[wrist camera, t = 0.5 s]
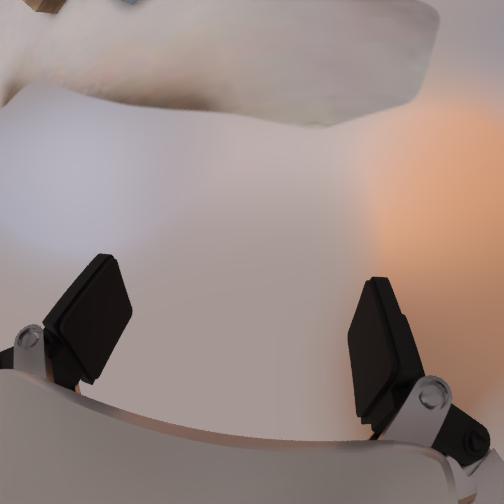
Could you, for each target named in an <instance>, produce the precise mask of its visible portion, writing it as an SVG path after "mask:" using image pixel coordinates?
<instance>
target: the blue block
mask: <svg viewBox="0 0 504 504" xmlns="http://www.w3.org/2000/svg"><path fill="white" fill-rule="evenodd" d="M123 1H125V2H128V3H131V4H133V5H134V4H135V3H136V2H137V1H138V0H123Z"/></svg>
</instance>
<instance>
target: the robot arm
mask: <svg viewBox="0 0 504 504" xmlns="http://www.w3.org/2000/svg"><path fill="white" fill-rule="evenodd" d="M131 316H132V306H131V303H130V300H129V298H128V295H127V291H126V288H125V285H124V282H123V279H122V275H121V272H120V269H119V266H118V262H117V260H116V259H114V257H113V256H112V255H110V254H98V255H97V256H96V257H95V258H94V259H93V260H92V261H91V263H90V264H89V265H88V266H87V267H86V268H85V269H84V271H83V272H82V273H81V274H80V275H79V276H78V277H77V279H76V280H75V281H74V282H73V283H72V285H71V286H70V287H69V288H68V289H67V291H66V292H65V293H64V294H63V296H62V297H61V298H60V299H59V301H58V302H57V303H56V305H55V306H54V307H53V308H52V310H51V311H50V312H49V314H48V315H47V316H46V318H45V319H44V320H43V322H42V323H43V324H44V326H45V328H44V329H42V328H41V327H40V326H38V325H34V324H32V325H28V326H26V327H24V328H23V329H22V330H20V332H19V333H18V334H17V336H16V338H15V342H14V346H13V347H11V348H9V349H6V350H4V351H1V352H0V504H504V462H503V460H502V459H501V457H500V456H499V455H498V453H497V452H496V450H495V449H494V448H493V449H492V450H490V448H489V447H490V436H489V433H488V431H487V429H486V428H485V427H484V426H483V425H482V424H480V423H479V422H477V421H476V420H474V419H473V418H472V417H470V416H469V415H467V414H466V413H465V412H463V411H462V410H460V409H459V408H457V407H456V406H454V405H453V404H452V403H451V402H452V392H451V389H450V387H449V385H448V384H447V383H446V382H445V381H444V380H443V379H441V378H439V377H437V376H433V375H429V376H425V373H424V370H423V366H422V363H421V360H420V356H419V353H418V350H417V347H416V344H415V341H414V338H413V335H412V332H411V329H410V326H409V324H408V321H407V318H406V316H405V315H404V314H402V313H401V310H400V308H399V305H398V302H397V300H396V297H395V294H394V292H393V289H392V287H391V284H390V282H389V280H388V278H385V277H372V278H371V279H370V280H367V281H366V282H365V285H364V288H363V291H362V294H361V297H360V300H359V303H358V306H357V309H356V312H355V314H354V318H353V320H352V323H351V326H350V328H349V331H348V346H349V353H350V361H351V368H352V377H353V385H354V395H355V405H356V414H357V417H361V424H371V428H372V431H373V433H372V434H371V435H370V437H369V438H368V439H367V440H364V441H293V440H275V439H262V438H252V437H244V436H236V435H229V434H221V433H216V432H210V431H204V430H198V429H193V428H189V427H184V426H180V425H175V424H171V423H167V422H163V421H159V420H155V419H152V418H148V417H144V416H141V415H138V414H134V413H131V412H128V411H125V410H122V409H119V408H116V407H113V406H110V405H107V404H104V403H102V402H99V401H96V400H94V399H91V398H88V397H86V396H83V395H81V392H80V388H79V381H80V379H81V380H82V381H83V382H85V383H88V384H91V385H93V383H94V381H95V379H98V378H99V376H100V375H101V372H102V370H103V369H104V367H105V365H106V363H107V361H108V359H109V357H110V355H111V353H112V351H113V349H114V347H115V345H116V344H117V342H118V340H119V338H120V336H121V334H122V333H123V331H124V329H125V327H126V325H127V324H128V322H129V320H130V318H131Z"/></svg>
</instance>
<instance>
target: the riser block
mask: <svg viewBox="0 0 504 504" xmlns="http://www.w3.org/2000/svg"><path fill="white" fill-rule="evenodd" d="M23 1H24V2H25V3H26V4H27V5H28V6H30V7H31V8H32V9H33V10H34V11H35V12H46V13H56V14H57V13H58V11H59V10H60V8H61V7H62V6H63V4H64V3H65V1H66V0H23Z"/></svg>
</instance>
